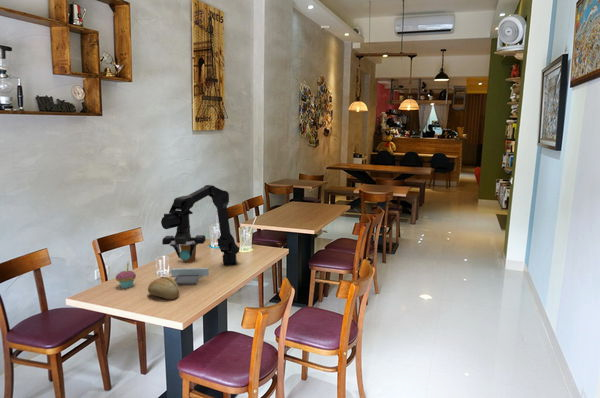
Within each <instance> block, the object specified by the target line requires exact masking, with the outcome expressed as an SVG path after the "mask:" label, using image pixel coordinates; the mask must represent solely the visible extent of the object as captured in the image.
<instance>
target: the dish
mask: <svg viewBox="0 0 600 398" xmlns="http://www.w3.org/2000/svg"><path fill="white" fill-rule="evenodd" d="M201 278H202V276H201V274H195V275H177V276H175V278H173V280H175V281H176V283H177V285H178V286H197V284H198V282H200V281H199V280H200V279H201Z"/></svg>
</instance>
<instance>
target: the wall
mask: <svg viewBox="0 0 600 398" xmlns="http://www.w3.org/2000/svg"><path fill="white" fill-rule="evenodd" d="M195 274H201V277H202V276H203V277H204V276H205V277H210V268H209V267H197V268H196V267H191V268H187V267H186V268H171V269H170V275H171V277H176V276H177V275H195Z"/></svg>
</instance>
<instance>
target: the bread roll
mask: <svg viewBox="0 0 600 398" xmlns="http://www.w3.org/2000/svg"><path fill="white" fill-rule="evenodd" d="M147 292H148V293H149V295H152V296H155V297H159V298H163V299H166V300H175V299H176V298H178V297H179V294H180V288H179V285H177V283H176V281H175V280H174V278H171V277H168V276H167V277H166V276H161V277H159V278H157V279H154V280H153V281H151V282H150V284H149V285H148V287H147Z"/></svg>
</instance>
